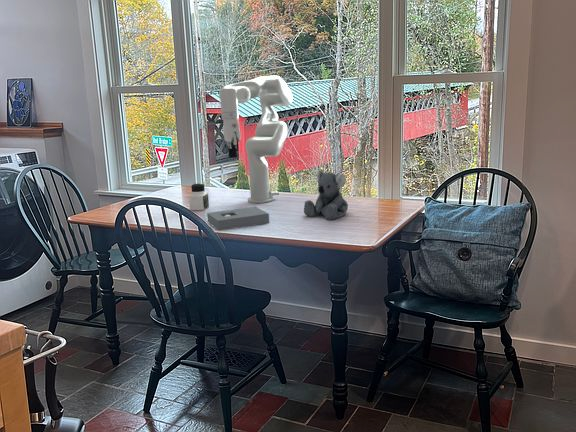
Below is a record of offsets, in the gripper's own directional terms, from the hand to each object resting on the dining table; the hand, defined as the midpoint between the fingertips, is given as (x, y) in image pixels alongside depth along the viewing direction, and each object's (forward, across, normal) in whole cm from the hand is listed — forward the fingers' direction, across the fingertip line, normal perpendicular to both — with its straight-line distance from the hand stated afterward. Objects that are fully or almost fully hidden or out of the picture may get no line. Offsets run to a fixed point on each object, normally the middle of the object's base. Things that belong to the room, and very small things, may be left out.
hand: (232, 157), depth 257 cm
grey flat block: (+25, -20, +6) cm, 33 cm away
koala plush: (+25, -29, -33) cm, 51 cm away
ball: (+23, -21, +11) cm, 33 cm away
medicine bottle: (+25, +16, +13) cm, 33 cm away
